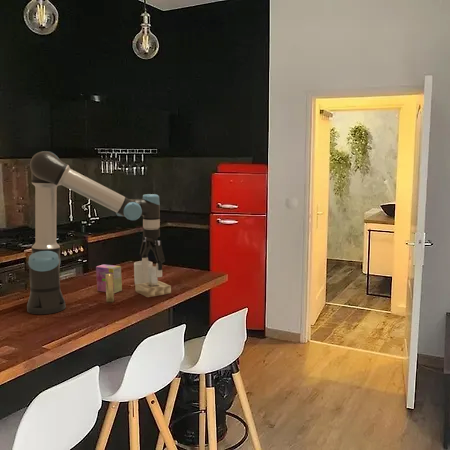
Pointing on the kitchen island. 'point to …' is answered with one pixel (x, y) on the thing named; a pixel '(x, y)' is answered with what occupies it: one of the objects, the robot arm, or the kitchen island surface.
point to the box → (101, 277)
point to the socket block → (153, 289)
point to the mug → (141, 273)
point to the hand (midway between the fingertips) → (152, 274)
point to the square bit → (152, 276)
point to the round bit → (109, 288)
